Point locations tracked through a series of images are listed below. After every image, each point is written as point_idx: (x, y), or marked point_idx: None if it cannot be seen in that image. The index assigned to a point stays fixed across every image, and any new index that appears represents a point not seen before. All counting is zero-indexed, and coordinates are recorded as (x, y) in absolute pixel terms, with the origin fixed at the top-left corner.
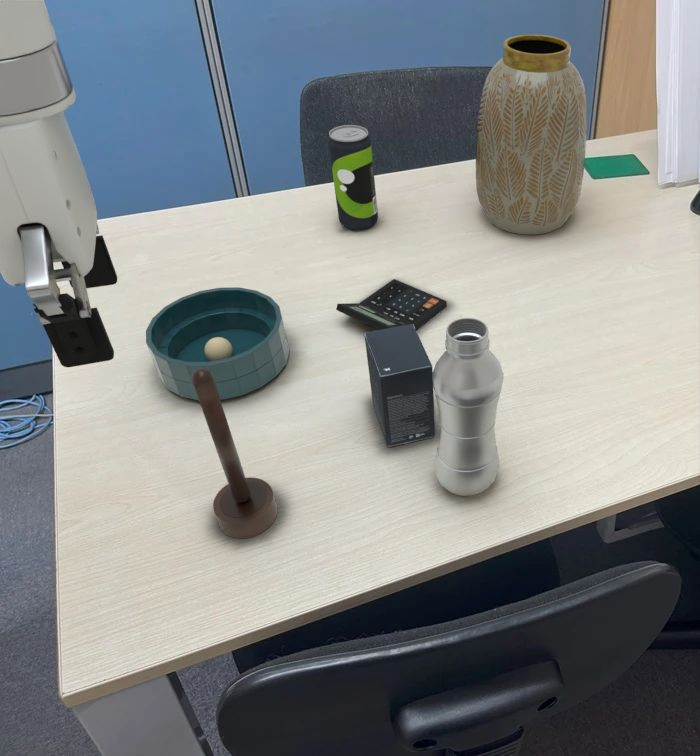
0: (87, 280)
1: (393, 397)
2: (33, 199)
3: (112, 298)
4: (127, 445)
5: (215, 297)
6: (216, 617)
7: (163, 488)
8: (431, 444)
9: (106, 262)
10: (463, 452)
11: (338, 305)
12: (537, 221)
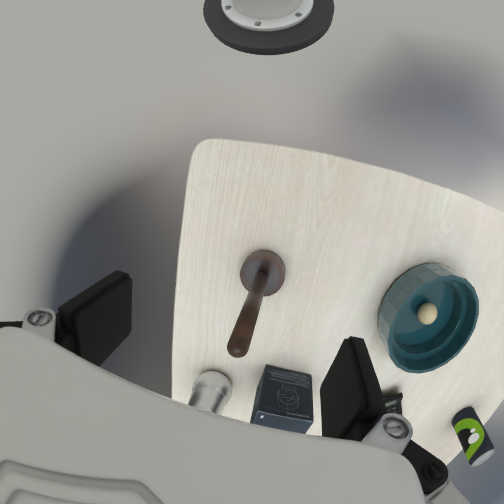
0: (336, 367)
1: (258, 400)
2: None
3: None
4: (386, 217)
5: (465, 333)
6: (196, 223)
7: (326, 226)
8: (253, 382)
9: (323, 418)
10: (190, 399)
11: (401, 396)
12: None
